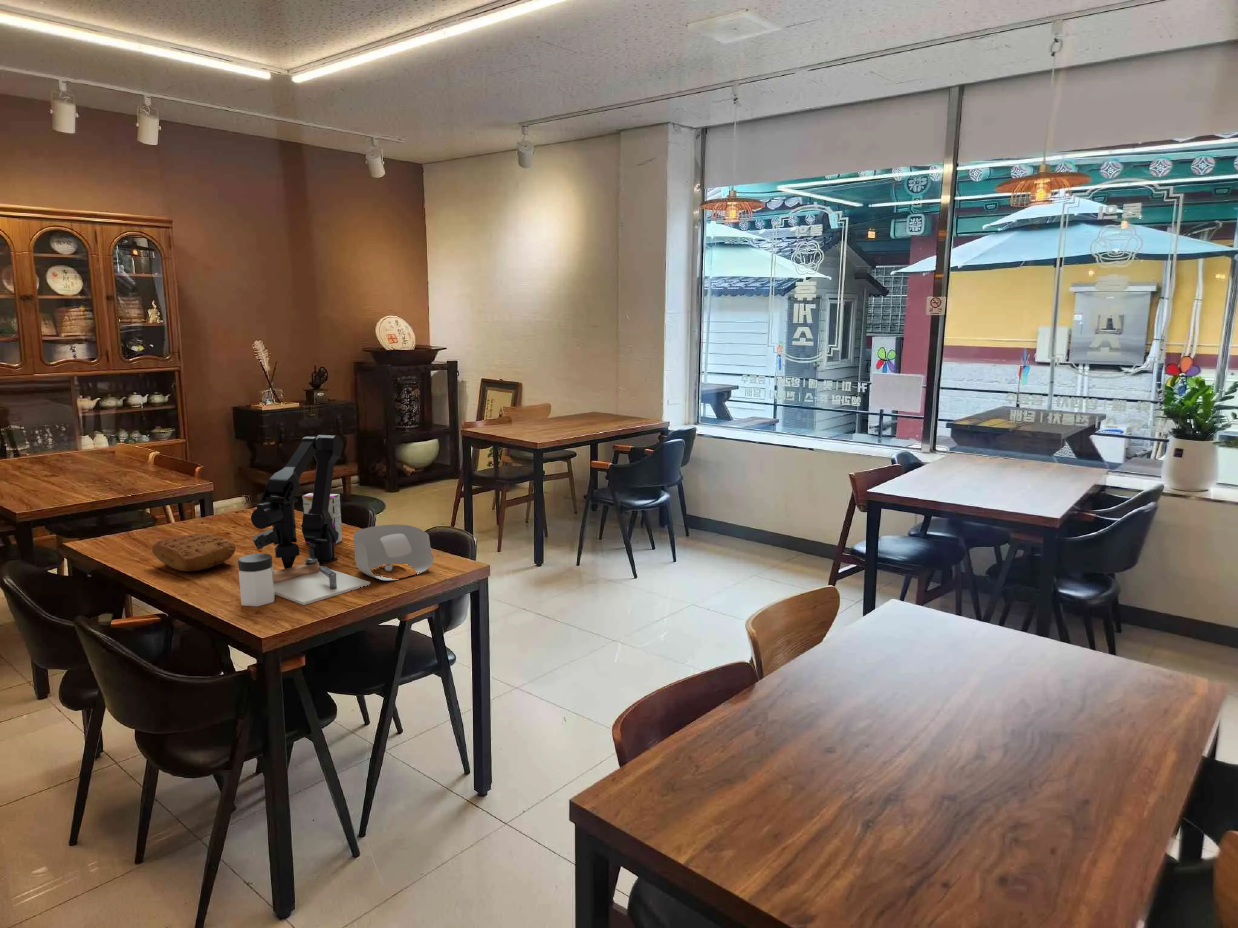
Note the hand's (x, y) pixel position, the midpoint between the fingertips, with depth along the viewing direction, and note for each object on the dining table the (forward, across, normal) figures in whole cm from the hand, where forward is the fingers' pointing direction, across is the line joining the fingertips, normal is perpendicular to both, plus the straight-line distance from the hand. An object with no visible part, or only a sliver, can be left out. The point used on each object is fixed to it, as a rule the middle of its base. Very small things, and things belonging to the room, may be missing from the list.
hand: (287, 572), depth 228 cm
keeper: (+1, +8, +9) cm, 12 cm away
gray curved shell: (+2, +6, +28) cm, 28 cm away
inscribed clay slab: (+2, -24, -24) cm, 35 cm away
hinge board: (+2, +10, +6) cm, 11 cm away
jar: (+2, +18, -8) cm, 20 cm away
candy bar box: (+2, -35, +13) cm, 37 cm away
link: (0, +3, +1) cm, 3 cm away
